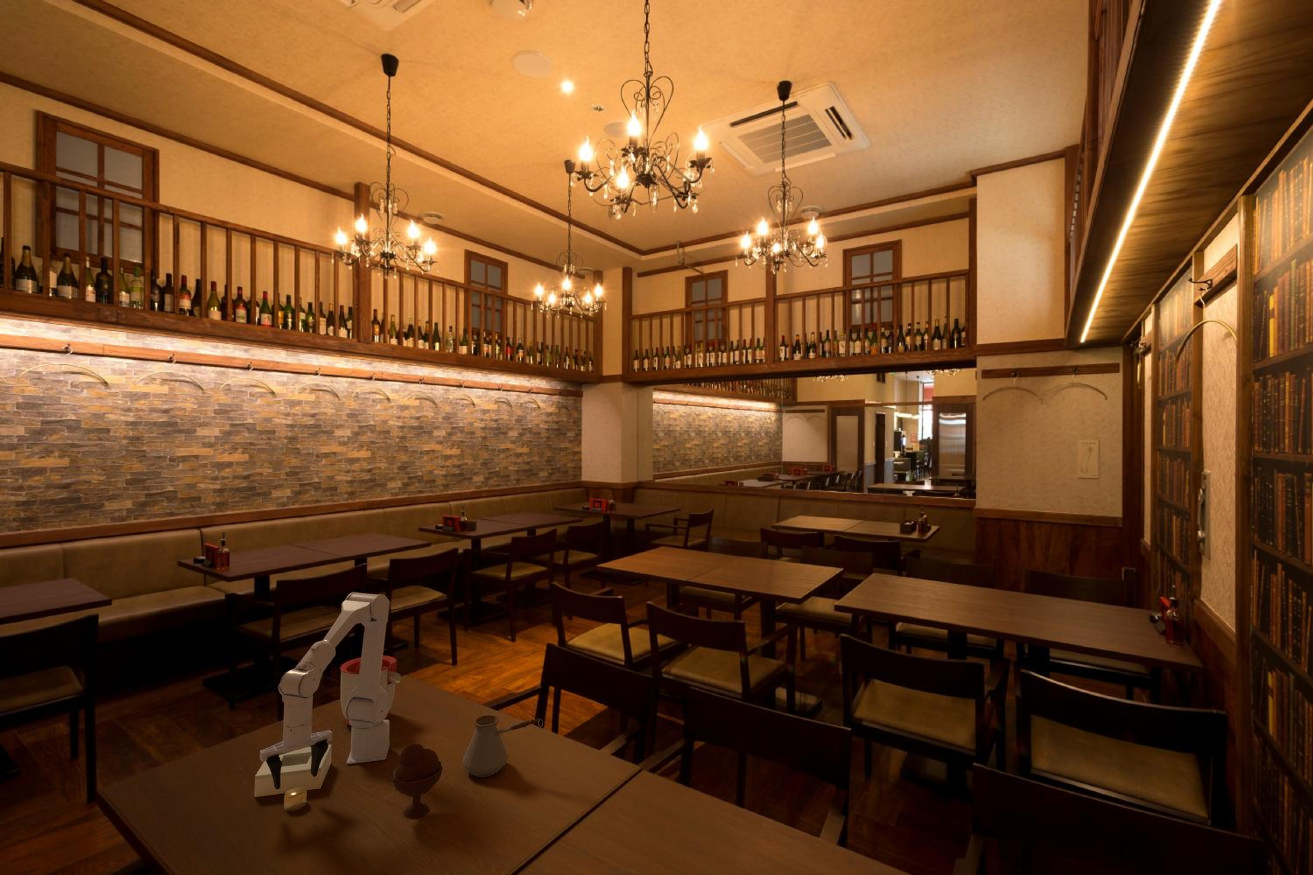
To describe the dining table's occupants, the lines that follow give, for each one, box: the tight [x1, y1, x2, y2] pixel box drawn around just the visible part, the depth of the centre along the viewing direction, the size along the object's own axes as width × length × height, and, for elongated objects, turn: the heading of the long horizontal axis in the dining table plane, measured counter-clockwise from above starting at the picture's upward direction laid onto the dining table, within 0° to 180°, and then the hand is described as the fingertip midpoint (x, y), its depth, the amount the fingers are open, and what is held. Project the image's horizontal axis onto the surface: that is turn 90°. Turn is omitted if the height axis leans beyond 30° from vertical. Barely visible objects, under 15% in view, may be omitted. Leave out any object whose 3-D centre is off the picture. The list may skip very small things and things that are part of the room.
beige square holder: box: [253, 744, 332, 798], centre depth 151 cm, size 14×12×5 cm
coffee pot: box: [462, 714, 544, 778], centre depth 157 cm, size 21×12×15 cm, turn 78°
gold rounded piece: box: [283, 787, 308, 812], centre depth 140 cm, size 4×4×3 cm
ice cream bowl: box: [391, 743, 443, 819], centre depth 139 cm, size 11×11×15 cm
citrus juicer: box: [339, 655, 402, 727], centre depth 185 cm, size 16×17×20 cm
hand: (295, 780), depth 140 cm, fingers open, 7 cm apart
